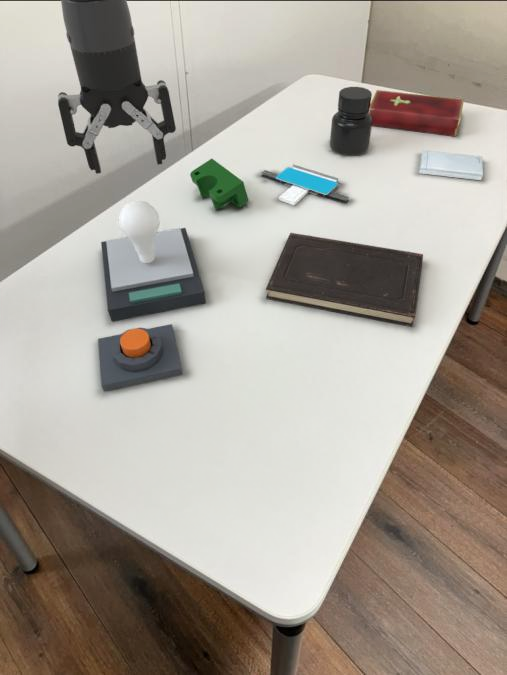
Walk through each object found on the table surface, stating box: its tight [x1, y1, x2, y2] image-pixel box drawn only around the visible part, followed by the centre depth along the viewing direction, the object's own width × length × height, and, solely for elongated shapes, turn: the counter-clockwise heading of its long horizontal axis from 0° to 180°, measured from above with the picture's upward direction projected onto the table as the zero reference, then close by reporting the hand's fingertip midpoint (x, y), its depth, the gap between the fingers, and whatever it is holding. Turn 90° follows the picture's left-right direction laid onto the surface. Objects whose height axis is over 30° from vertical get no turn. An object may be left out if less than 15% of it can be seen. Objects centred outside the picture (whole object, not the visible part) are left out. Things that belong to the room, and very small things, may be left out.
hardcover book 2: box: [368, 89, 465, 137], centre depth 123 cm, size 12×21×4 cm, turn 71°
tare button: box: [120, 328, 151, 358], centre depth 71 cm, size 4×4×2 cm
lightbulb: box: [118, 199, 161, 263], centre depth 80 cm, size 6×6×11 cm
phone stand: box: [260, 164, 350, 206], centre depth 104 cm, size 20×12×2 cm, turn 56°
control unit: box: [97, 323, 184, 392], centre depth 73 cm, size 11×9×3 cm
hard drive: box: [418, 149, 484, 181], centre depth 108 cm, size 2×8×12 cm
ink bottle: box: [329, 86, 373, 156], centre depth 112 cm, size 10×9×12 cm
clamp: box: [189, 158, 249, 211], centre depth 100 cm, size 12×6×9 cm, turn 29°
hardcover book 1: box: [265, 232, 424, 328], centre depth 84 cm, size 16×23×2 cm
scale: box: [100, 227, 207, 322], centre depth 85 cm, size 15×18×3 cm
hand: (128, 166), depth 72 cm, fingers open, 8 cm apart
